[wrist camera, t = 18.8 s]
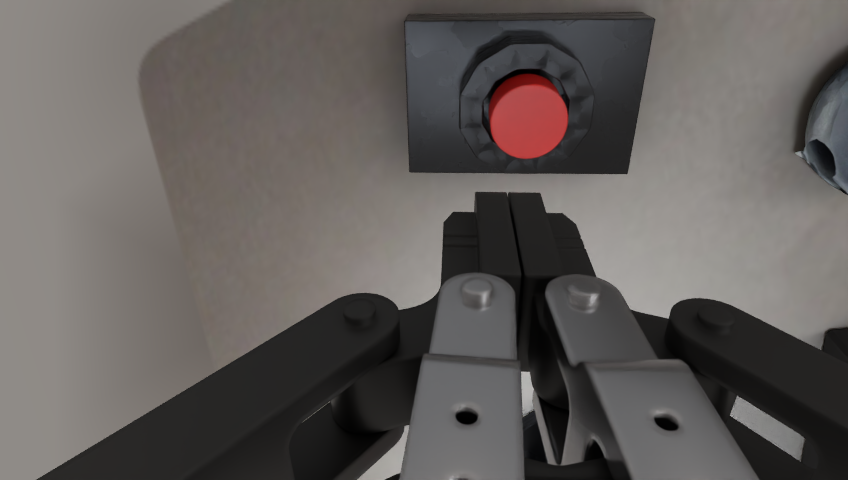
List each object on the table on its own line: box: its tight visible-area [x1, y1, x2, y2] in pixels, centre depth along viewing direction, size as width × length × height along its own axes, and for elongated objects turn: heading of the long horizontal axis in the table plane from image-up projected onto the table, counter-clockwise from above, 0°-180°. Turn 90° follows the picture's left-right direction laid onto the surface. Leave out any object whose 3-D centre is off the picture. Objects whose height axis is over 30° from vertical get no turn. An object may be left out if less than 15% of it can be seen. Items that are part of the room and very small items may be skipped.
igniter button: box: [488, 74, 568, 159], centre depth 27 cm, size 4×4×2 cm
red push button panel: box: [404, 12, 655, 174], centre depth 29 cm, size 12×8×4 cm, turn 91°
